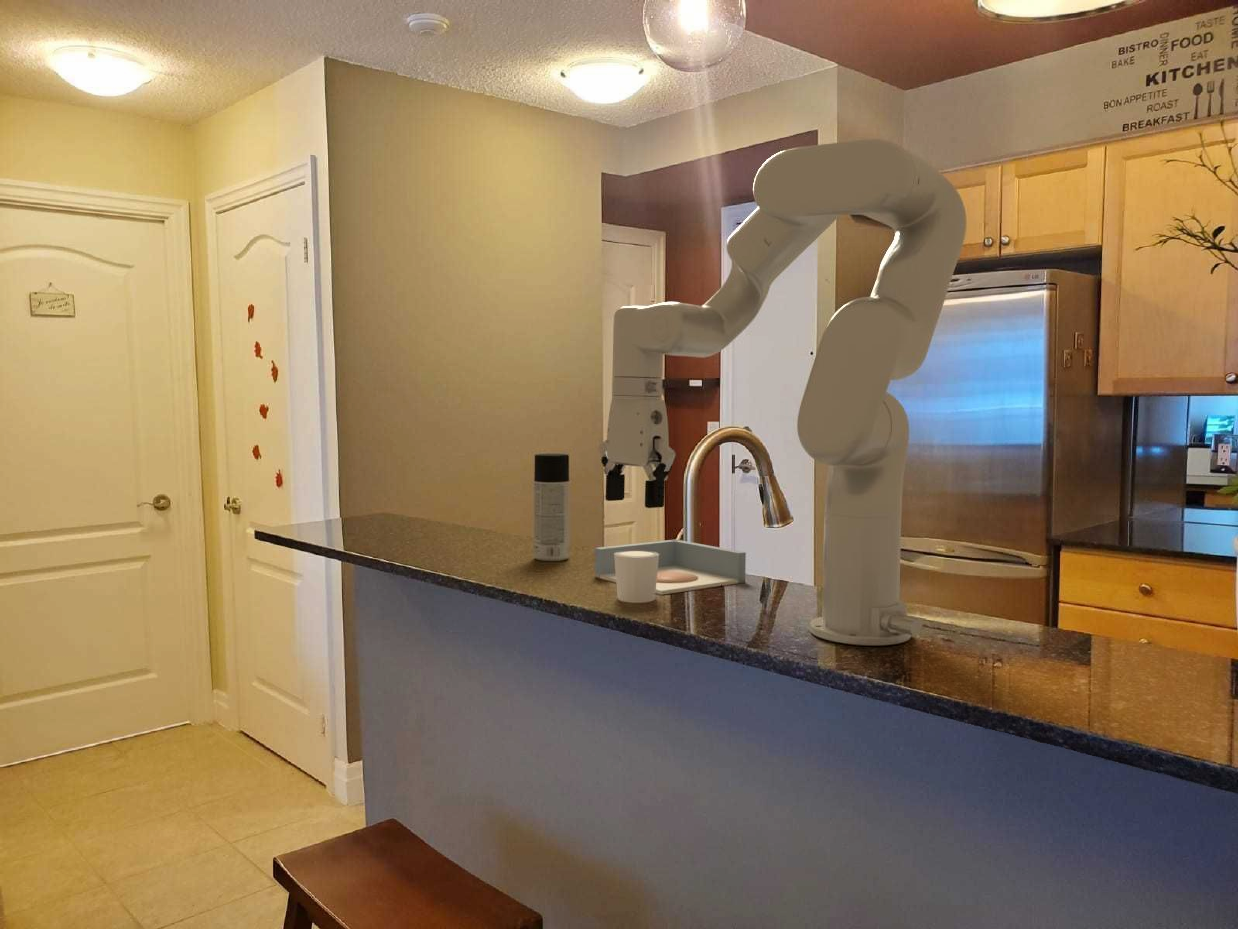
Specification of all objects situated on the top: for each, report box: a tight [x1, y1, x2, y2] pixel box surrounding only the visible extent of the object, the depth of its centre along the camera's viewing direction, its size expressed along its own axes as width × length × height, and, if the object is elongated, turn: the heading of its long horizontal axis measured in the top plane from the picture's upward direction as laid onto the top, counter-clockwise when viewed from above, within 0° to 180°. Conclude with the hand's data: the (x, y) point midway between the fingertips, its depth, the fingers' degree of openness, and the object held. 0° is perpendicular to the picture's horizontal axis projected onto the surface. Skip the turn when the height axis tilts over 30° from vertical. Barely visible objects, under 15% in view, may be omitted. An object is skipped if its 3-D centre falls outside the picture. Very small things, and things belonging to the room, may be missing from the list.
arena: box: [594, 539, 747, 596], centre depth 154 cm, size 18×18×5 cm
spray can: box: [533, 453, 570, 562], centre depth 174 cm, size 7×7×20 cm
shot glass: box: [614, 550, 659, 604], centre depth 139 cm, size 7×7×7 cm
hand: (634, 503), depth 138 cm, fingers open, 9 cm apart
